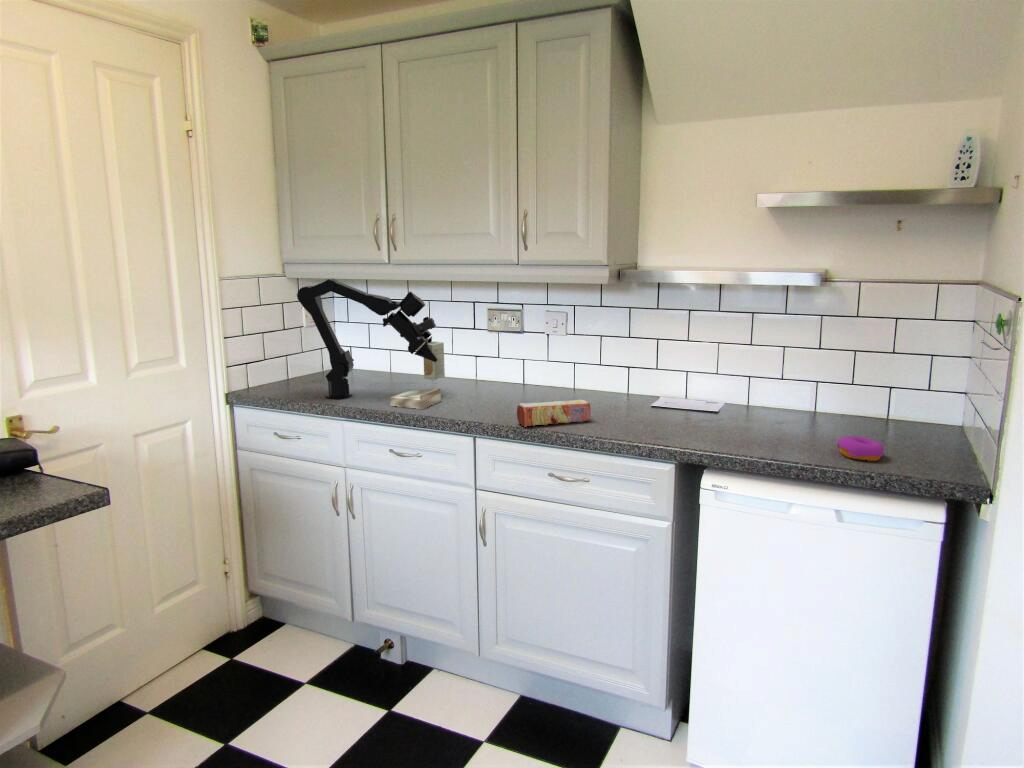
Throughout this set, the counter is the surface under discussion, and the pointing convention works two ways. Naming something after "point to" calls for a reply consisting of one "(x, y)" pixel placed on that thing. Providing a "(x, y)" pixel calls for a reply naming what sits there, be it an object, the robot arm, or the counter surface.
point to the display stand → (416, 399)
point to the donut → (860, 448)
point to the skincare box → (435, 368)
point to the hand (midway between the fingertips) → (437, 359)
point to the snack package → (553, 412)
